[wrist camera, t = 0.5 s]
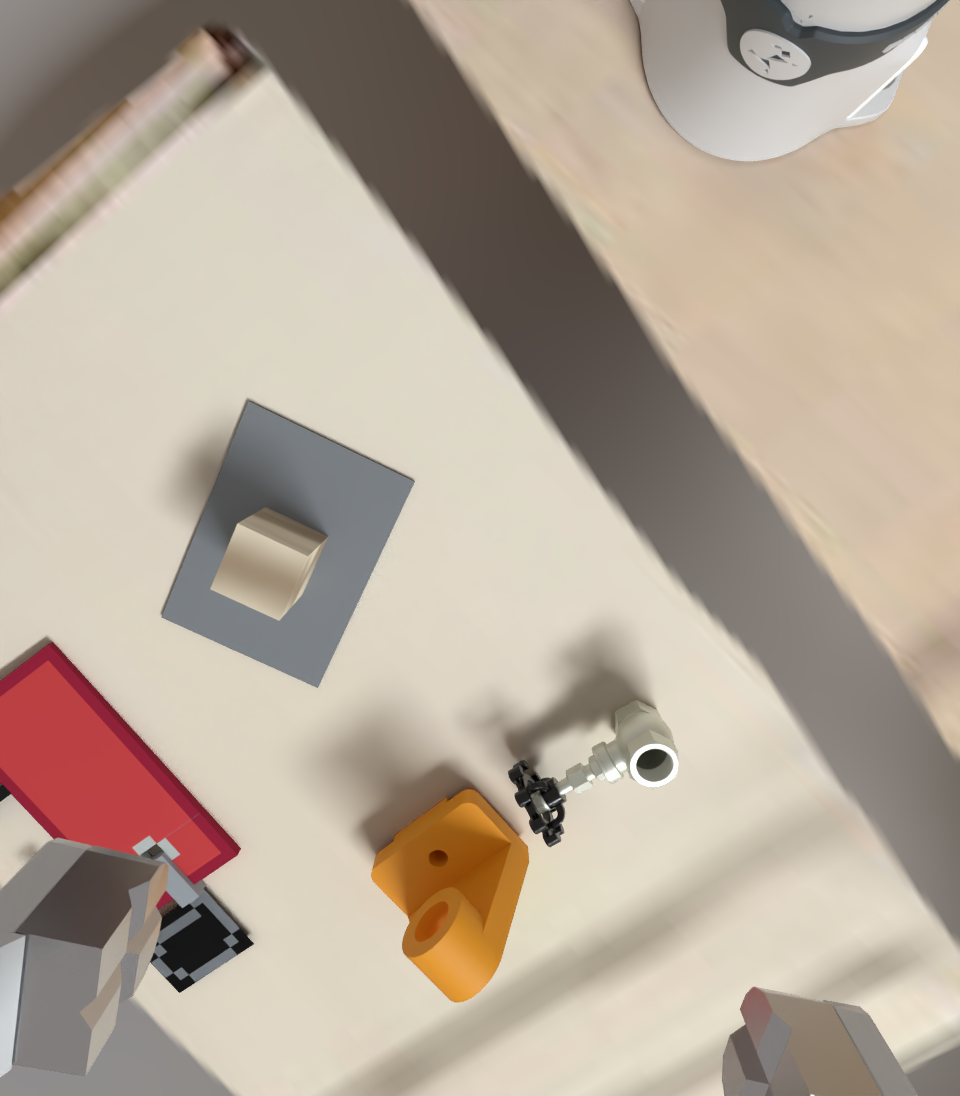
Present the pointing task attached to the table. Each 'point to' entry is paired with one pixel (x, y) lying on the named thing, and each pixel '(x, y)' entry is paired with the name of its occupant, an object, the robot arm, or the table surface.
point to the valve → (601, 768)
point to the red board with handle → (115, 803)
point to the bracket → (455, 890)
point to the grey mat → (311, 499)
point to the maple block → (268, 562)
